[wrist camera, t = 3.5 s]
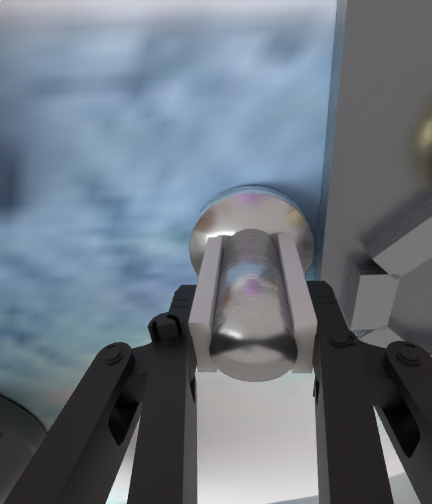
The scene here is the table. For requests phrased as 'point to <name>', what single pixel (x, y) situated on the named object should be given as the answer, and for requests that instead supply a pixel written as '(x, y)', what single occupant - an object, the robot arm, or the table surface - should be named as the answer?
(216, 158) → the table surface
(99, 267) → the table surface
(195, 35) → the table surface
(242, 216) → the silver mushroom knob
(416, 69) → the carrier plate
